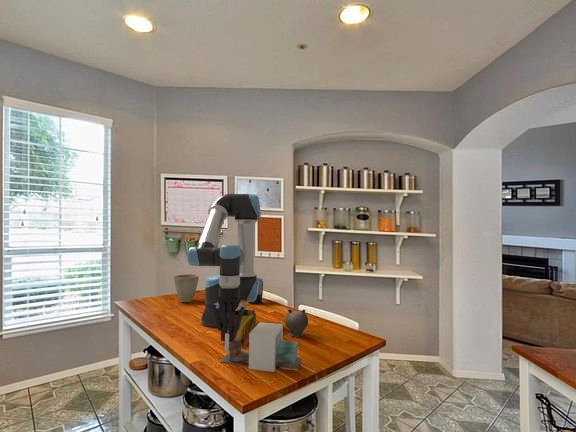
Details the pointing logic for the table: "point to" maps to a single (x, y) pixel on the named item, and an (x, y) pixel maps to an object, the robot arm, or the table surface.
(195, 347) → the table surface
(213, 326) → the robot arm
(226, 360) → the pit pad
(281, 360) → the sled
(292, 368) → the pad
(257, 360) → the upright grey pillar
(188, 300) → the plant pot
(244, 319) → the mug
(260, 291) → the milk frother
